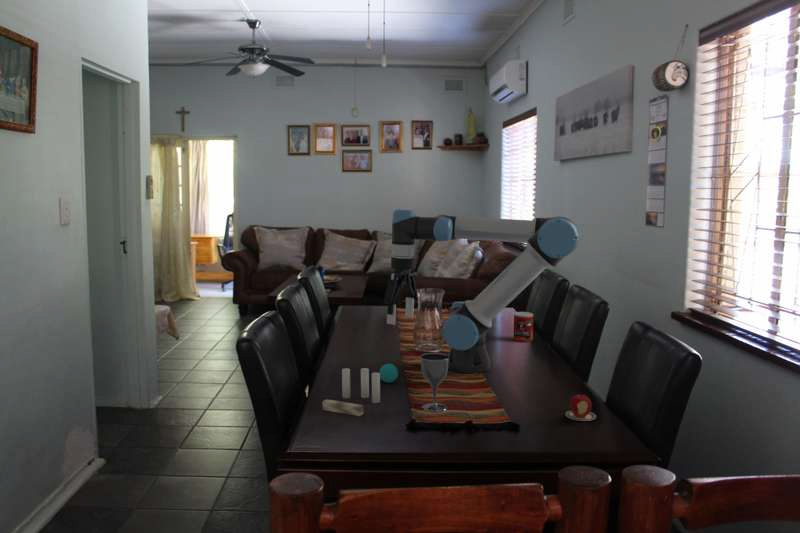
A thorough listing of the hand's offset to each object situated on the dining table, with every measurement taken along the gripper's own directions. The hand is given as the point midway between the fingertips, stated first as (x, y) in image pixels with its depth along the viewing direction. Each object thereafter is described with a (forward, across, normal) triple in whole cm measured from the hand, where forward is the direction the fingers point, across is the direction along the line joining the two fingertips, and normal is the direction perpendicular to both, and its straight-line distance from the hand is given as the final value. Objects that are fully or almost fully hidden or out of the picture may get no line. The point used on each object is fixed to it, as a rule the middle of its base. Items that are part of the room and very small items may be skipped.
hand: (400, 320), depth 216 cm
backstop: (+19, +40, +2) cm, 44 cm away
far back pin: (+19, +28, -3) cm, 34 cm away
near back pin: (+18, +28, +7) cm, 34 cm away
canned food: (+17, -65, +24) cm, 71 cm away
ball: (+15, +10, +1) cm, 18 cm away
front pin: (+18, +26, +2) cm, 32 cm away
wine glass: (+18, +25, +24) cm, 39 cm away
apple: (+16, +15, +63) cm, 67 cm away
